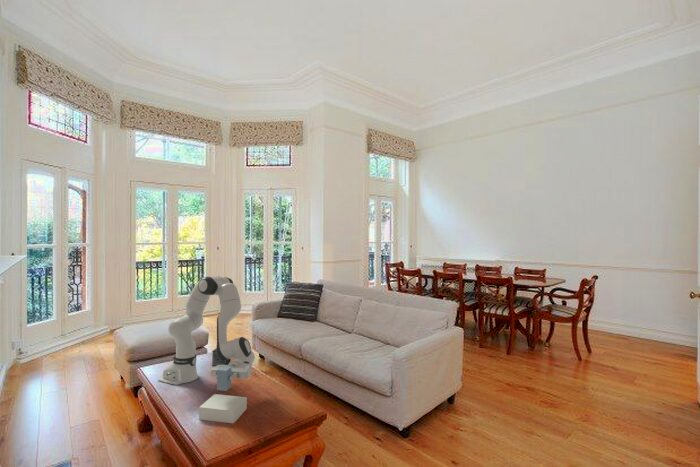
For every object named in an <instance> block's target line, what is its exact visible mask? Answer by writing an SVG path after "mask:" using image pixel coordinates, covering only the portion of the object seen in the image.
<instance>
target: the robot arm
mask: <svg viewBox="0 0 700 467" xmlns="http://www.w3.org/2000/svg"><path fill="white" fill-rule="evenodd" d="M188 296H189V297H188V298H187V301H186V303H185V308H186V310H185V314H184V315H183V316H180V317H178V318H175V319H174V320H173V321H171V322H170V324H168V333H169V335H170V336H171V337H172V338H173V339H174V342H175V355H174V356H173V357H172V358H171V361H172V362H171V363H170V364H168V366H166V367H165V368H164V369H163V372H162V375H160V376H159V377H158V380H157V381H158V382H160V383H166V384H171V385H174V386H177V385H181V384H186V383H190V382H194V381H196V380H197V379H198V377H199V375H198V369H197V350H196V349H197V342H196V341H195V339H193V337H192V332H194V331H196V330H198V329H199V328H201V326H202V325H203V323H204V317H203V313H204V310H205V308H206V306H207V304H208V302H209V299H210V298H211V296H218V298H219V304H220V305H219V306H220V309H219V314H218V316H217V317H216V348H215V349H216V355H217V357H218V358H219V359H220V360H222V361H227V360H229V359H232V360H230V363H229V364H228V365H217V366H212V368H211V369H210V376H212V377H215V379H216V380H217V370H218V369H219V368H220V367H222V366H227V367H232V368H231V375H229V376H228V380H231V381H232V380H235V379H242V380H246V379H248V378H249V377H251V375H252V372H253V371H252V370H253V368H252V367H253V366H252V365H253V364H254V363H255V358H256V357H255V353H254V352H253V351H252V346H251V344H250V340H248V339H247V338H246V337H244V336H240V337H237V338H234V339H232V340H228V333H227V330H228V329H227V328H228V324H230V322H231V321H232V320H234V318H235V317H237V316H238V315H239V314H240V312H241V310H242V303H241V298H240V294H239V291H238V288H237V286H236V285H235V283H234V281H233V280H232V278H229V277H228V276H227V277H226V276H218V275H217V276H205V277H201V279H200V280H198V281H197V282H196V284H195V285H194V287H193V288H192V290H191V292H190V294H189V295H188Z"/></svg>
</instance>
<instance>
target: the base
mask: <svg viewBox="0 0 700 467" xmlns="http://www.w3.org/2000/svg"><path fill="white" fill-rule="evenodd" d="M247 399H248V398H247V396H238V395H237V396H236V395H226V394H219V393H218V394H216V393H214V394H213V395H212V396H210V397H209V398H208V399H207V400H206V401H205V402H203V403H202V404H201V405H200V406H199V408H198V420H202V421H210V422H217V423H218V422H219V423H228V424H235V422H236V421H237V420H238V419H239V418H240V417H241V416H242V415H243V413H245V411H246V410H247V408H248V407H247V404H248V402H247V401H248V400H247Z"/></svg>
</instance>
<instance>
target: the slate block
mask: <svg viewBox="0 0 700 467" xmlns="http://www.w3.org/2000/svg"><path fill="white" fill-rule="evenodd" d="M231 368H232V367H227V366H222V367H220V368H219V369H218V370H217V379H216V391H224V392H226V391H228V390H229V389H230V388H231V387H232V380H228V376H229V375H231Z"/></svg>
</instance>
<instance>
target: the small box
mask: <svg viewBox="0 0 700 467" xmlns="http://www.w3.org/2000/svg"><path fill="white" fill-rule="evenodd" d="M211 353H212V357H211V358H212V362H211V363H212V367H215V366H217V365H228V364H229V363H230V362H231V361H232V360H231V359H232V358H231V359H229V360H227V361H222V360H220V359H219V358H218V357H217V355H216V348H215V349H213V350H212V352H211Z"/></svg>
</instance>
